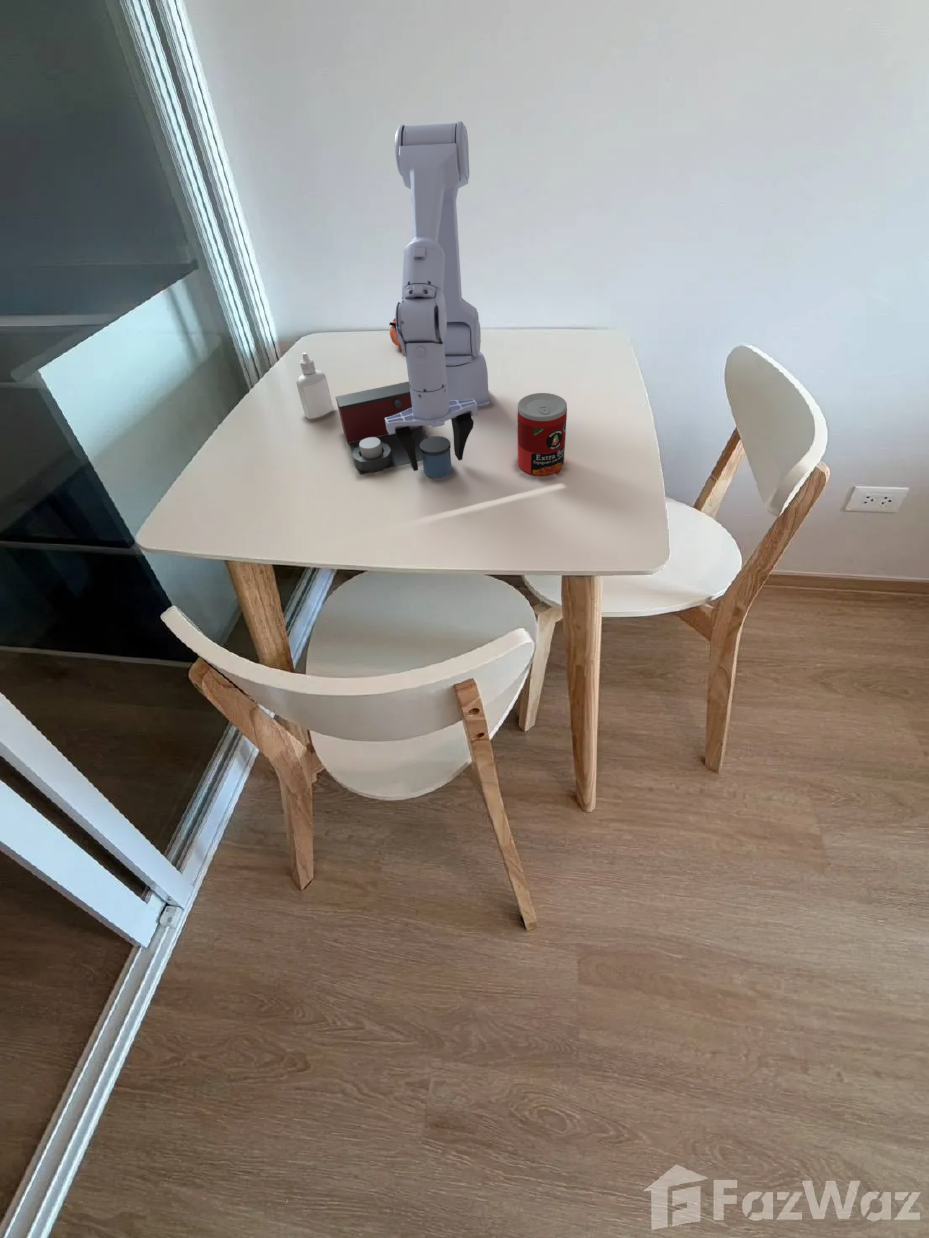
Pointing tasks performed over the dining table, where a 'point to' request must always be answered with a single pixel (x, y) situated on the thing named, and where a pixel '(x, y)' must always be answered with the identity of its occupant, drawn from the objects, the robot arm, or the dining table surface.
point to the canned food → (541, 433)
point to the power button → (370, 447)
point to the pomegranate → (394, 333)
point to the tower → (372, 410)
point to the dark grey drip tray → (387, 453)
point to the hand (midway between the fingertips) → (436, 462)
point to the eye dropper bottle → (313, 390)
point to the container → (436, 456)
